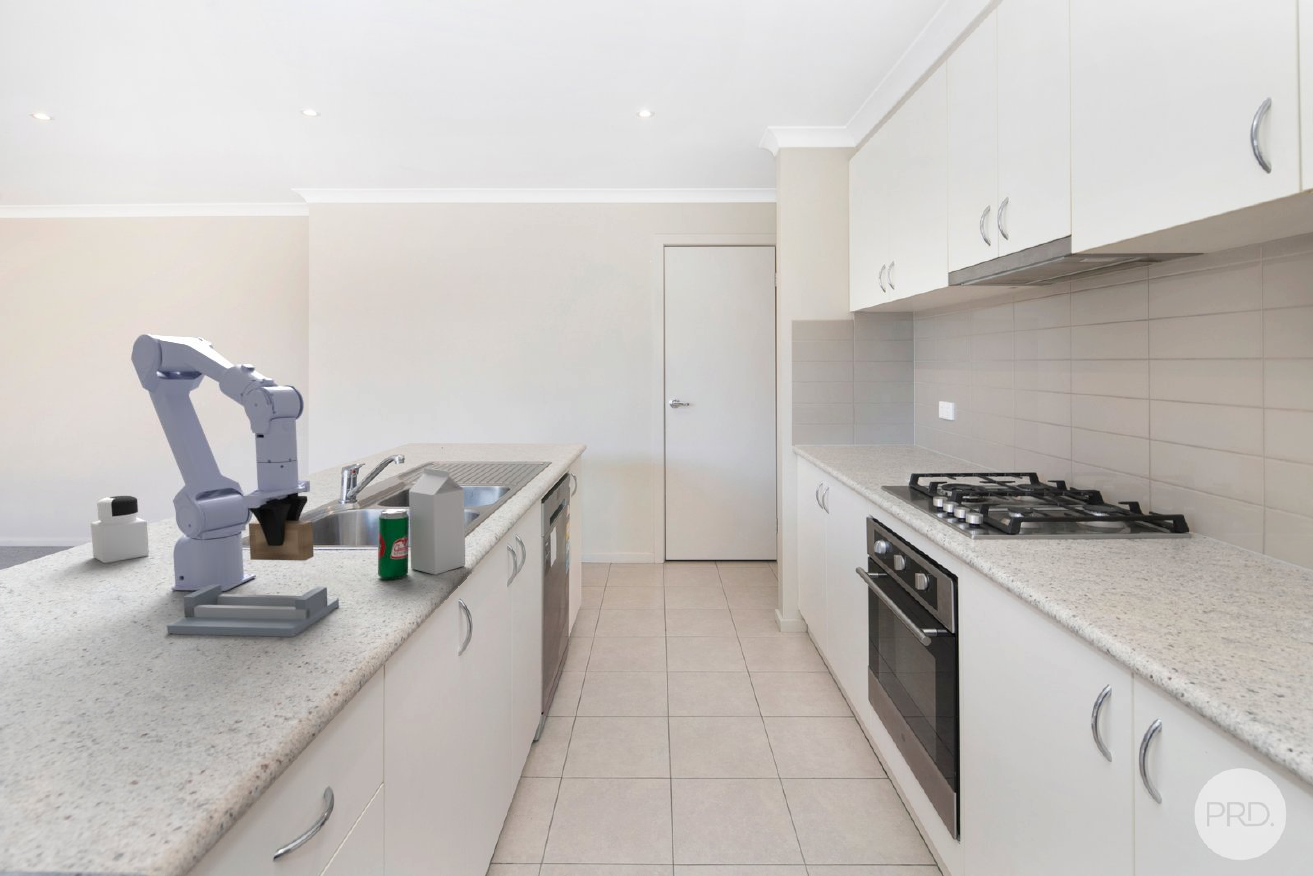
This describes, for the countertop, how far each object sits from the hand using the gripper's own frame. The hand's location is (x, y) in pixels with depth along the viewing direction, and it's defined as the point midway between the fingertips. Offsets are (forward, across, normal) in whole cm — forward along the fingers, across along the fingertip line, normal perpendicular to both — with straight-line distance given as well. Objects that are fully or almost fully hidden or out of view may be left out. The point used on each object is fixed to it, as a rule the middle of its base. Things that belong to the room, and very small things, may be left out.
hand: (281, 543), depth 104 cm
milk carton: (+9, +17, -20) cm, 28 cm away
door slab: (+2, 0, 0) cm, 2 cm away
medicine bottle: (+9, +21, +45) cm, 51 cm away
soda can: (+9, +11, -14) cm, 20 cm away
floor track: (+9, -10, -2) cm, 14 cm away
